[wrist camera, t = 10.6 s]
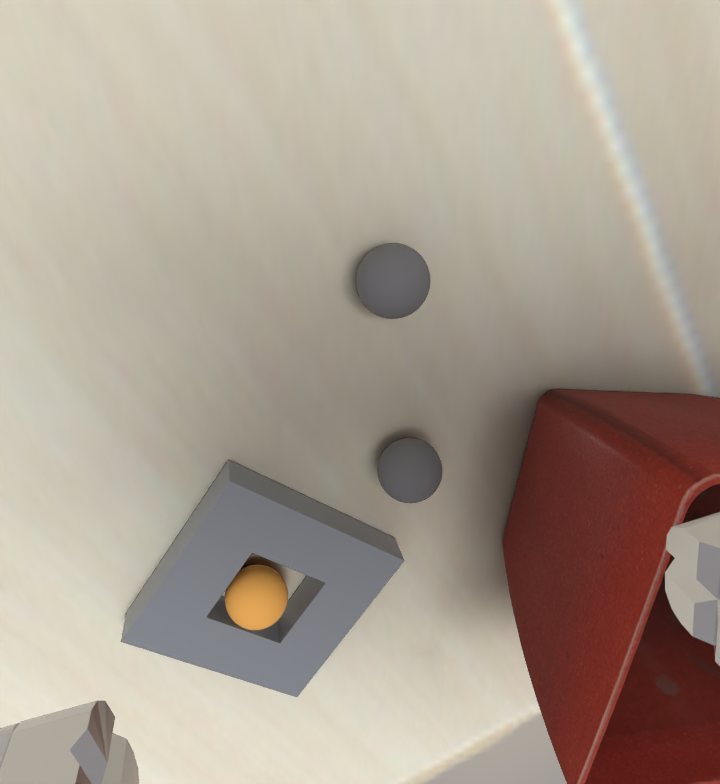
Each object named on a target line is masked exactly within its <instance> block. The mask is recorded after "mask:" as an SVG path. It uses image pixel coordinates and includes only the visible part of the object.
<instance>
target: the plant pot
mask: <svg viewBox="0 0 720 784" xmlns="http://www.w3.org/2000/svg"><path fill="white" fill-rule="evenodd" d="M718 512H720V398H716V397H708V396H700V395H691V394H667V393H642V392H617V391H591V390H566V389H555V390H550V391H548V392H546V393H545V394H544V395H543V396H542V397H541V399H540V400H539V402H538V405H537V408H536V413H535V416H534V420H533V424H532V428H531V432H530V435H529V439H528V443H527V447H526V451H525V455H524V459H523V463H522V467H521V471H520V474H519V478H518V482H517V486H516V490H515V493H514V497H513V501H512V505H511V509H510V513H509V517H508V520H507V524H506V528H505V532H504V536H503V552H504V560H505V567H506V573H507V579H508V586H509V592H510V597H511V602H512V607H513V612H514V616H515V620H516V625H517V629H518V633H519V638H520V642H521V646H522V650H523V653H524V657H525V661H526V664H527V668H528V671H529V675H530V678H531V681H532V685H533V688H534V691H535V695H536V698H537V701H538V704H539V707H540V710H541V713H542V716H543V719H544V722H545V725H546V728H547V731H548V734H549V737H550V739H551V742H552V745H553V747H554V750H555V753H556V756H557V758H558V761H559V764H560V766H561V769H562V772H563V774H564V777H565V779H566V781H567V784H720V666H719V665H718V664H717V663H716V662H715V655H714V645H712V644H709V643H707V642H705V641H702V640H700V639H698V638H695V637H693V636H692V635H691V634H690V633H689V632H688V631H687V630H686V628H685V627H684V626H683V625H682V624H681V623H680V621H679V620H678V618H677V616H676V615H675V613H674V612H673V610H672V608H671V605H670V603H669V600H668V597H667V594H666V591H665V572H666V570H667V569H668V567H669V566H670V564H671V563H672V561H673V560H674V559H675V558H674V557H673V556H672V555H671V554H670V553H669V552H668V551H667V550H666V540H667V534H668V532H669V531H670V529H671V527H673V526H676V525H680V524H683V523H686V522H689V521H692V520H696V519H699V518H702V517H705V516H708V515H712V514H715V513H718Z"/></svg>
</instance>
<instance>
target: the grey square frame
mask: <svg viewBox="0 0 720 784" xmlns="http://www.w3.org/2000/svg"><path fill="white" fill-rule="evenodd" d="M251 553H254V554H256V555H259V556H261V557H263V558H266V559H268V560H271V561H273V562H276V563H278V564H281V565H283V566H285V567H288V568H290V569H293V570H295V571H298V572H300V573H303V574H305V575H307V576H306V578H305V579H304V580H303V582H302V583H301V584H300V586H299V587H298V588H297V590H296V591H295V593H294V594H293V595H292V597H291V598H290V599H289V601H288V602H287V605H286V608H285V611H284V612H283V614H282V616H281V617H280V618H279V619H278V621H276V622H275V623H274V624H273V625H271V626H269V627H267V628H264V629H261V630H249V629H245V628H243V627H241V626H239V625H238V624H236V623H235V622H234V621H233V620H232V619H231V617H230V616H229V614H228V612H227V609H226V605H225V597H223V596H222V594H223V593H224V591H225V590H226V589H227V587H228V586H229V584H230V583H231V581H232V580H233V579H234V577H235V576H236V574H237V573H238V572H239V570H240V569H241V567H242V566H243V565H244V563H245V562H246V560H247V559H248V558H249V556H250V555H251ZM403 562H404V559H403V556H402V554H401V552H400V549H399V547H398V545H397V542H396V540H395V538H394V537H392V536H390V535H388V534H386V533H384V532H382V531H379V530H377V529H375V528H373V527H371V526H369V525H367V524H365V523H362V522H360V521H358V520H356V519H354V518H352V517H350V516H348V515H345V514H343V513H341V512H339V511H337V510H335V509H333V508H330V507H328V506H326V505H324V504H322V503H320V502H318V501H316V500H313V499H311V498H309V497H307V496H305V495H303V494H301V493H299V492H296V491H294V490H292V489H290V488H288V487H286V486H284V485H282V484H279V483H277V482H275V481H273V480H271V479H269V478H267V477H265V476H262V475H260V474H258V473H256V472H254V471H252V470H250V469H247V468H245V467H243V466H241V465H239V464H237V463H235V462H233V461H230V460H228V461H227V463H226V464H225V466H224V467H223V469H222V470H221V472H220V473H219V475H218V476H217V478H216V479H215V481H214V482H213V484H212V485H211V487H210V488H209V490H208V491H207V493H206V494H205V496H204V497H203V499H202V500H201V502H200V503H199V505H198V506H197V508H196V509H195V511H194V512H193V514H192V515H191V517H190V518H189V519H188V521H187V522H186V524H185V525H184V527H183V528H182V530H181V531H180V533H179V534H178V536H177V537H176V539H175V540H174V542H173V543H172V545H171V546H170V548H169V549H168V551H167V552H166V554H165V555H164V557H163V558H162V560H161V561H160V563H159V564H158V566H157V567H156V569H155V570H154V572H153V573H152V575H151V576H150V578H149V579H148V581H147V582H146V584H145V585H144V587H143V588H142V590H141V591H140V593H139V594H138V596H137V597H136V599H135V600H134V602H133V603H132V605H131V606H130V608H129V609H128V611H127V612H126V616H125V622H124V627H123V633H122V639H121V642H123V643H127V644H130V645H133V646H136V647H139V648H142V649H146V650H149V651H152V652H155V653H158V654H161V655H165V656H168V657H171V658H174V659H177V660H180V661H184V662H187V663H190V664H193V665H196V666H199V667H203V668H206V669H209V670H212V671H215V672H219V673H222V674H225V675H228V676H231V677H234V678H238V679H241V680H244V681H247V682H250V683H253V684H257V685H260V686H263V687H266V688H269V689H272V690H276V691H279V692H282V693H285V694H288V695H291V696H295V697H298V695H299V694H300V693H301V692H302V690H303V689H304V688H305V686H306V685H307V684H308V683H309V681H310V680H311V679H312V678H313V676H314V675H315V674H316V672H317V671H318V670H319V669H320V667H321V666H322V665H323V664H324V662H325V661H326V660H327V658H328V657H329V656H330V655H331V653H332V652H333V651H334V649H335V648H336V647H337V646H338V644H339V643H340V642H341V641H342V639H343V638H344V637H345V635H346V634H347V633H348V632H349V630H350V629H351V628H352V627H353V625H354V624H355V623H356V621H357V620H358V619H359V618H360V616H361V615H362V614H363V613H364V611H365V610H366V609H367V607H368V606H369V605H370V604H371V602H372V601H373V600H374V599H375V597H376V596H377V595H378V593H379V592H380V591H381V590H382V588H383V587H384V586H385V585H386V583H387V582H388V581H389V579H390V578H391V577H392V576H393V574H394V573H395V572H396V571H397V569H398V568H399V567H400V565H401V564H402V563H403Z"/></svg>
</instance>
